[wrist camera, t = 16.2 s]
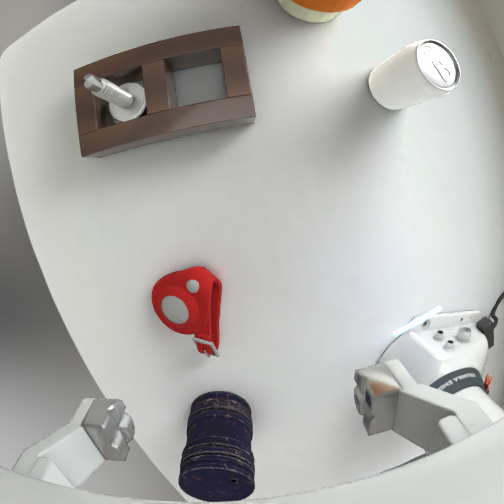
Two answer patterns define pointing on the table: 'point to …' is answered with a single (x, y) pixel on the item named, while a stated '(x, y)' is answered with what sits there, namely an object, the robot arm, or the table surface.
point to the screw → (118, 97)
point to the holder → (164, 92)
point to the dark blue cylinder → (218, 449)
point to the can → (415, 75)
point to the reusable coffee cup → (316, 9)
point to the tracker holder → (191, 306)
